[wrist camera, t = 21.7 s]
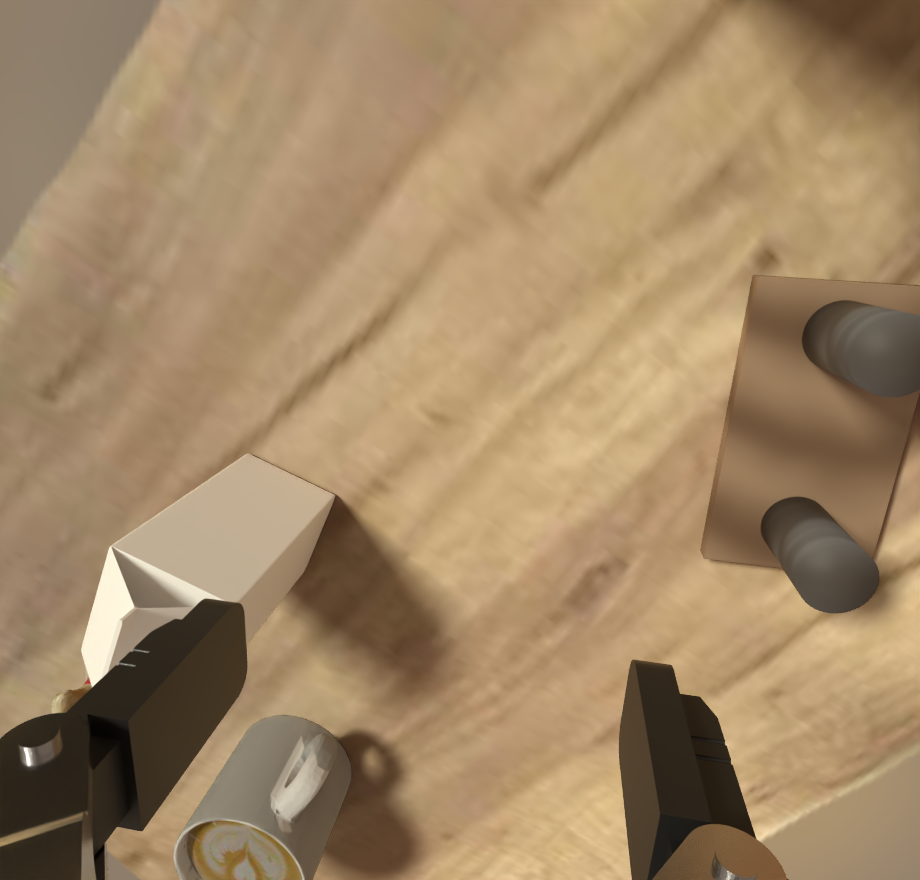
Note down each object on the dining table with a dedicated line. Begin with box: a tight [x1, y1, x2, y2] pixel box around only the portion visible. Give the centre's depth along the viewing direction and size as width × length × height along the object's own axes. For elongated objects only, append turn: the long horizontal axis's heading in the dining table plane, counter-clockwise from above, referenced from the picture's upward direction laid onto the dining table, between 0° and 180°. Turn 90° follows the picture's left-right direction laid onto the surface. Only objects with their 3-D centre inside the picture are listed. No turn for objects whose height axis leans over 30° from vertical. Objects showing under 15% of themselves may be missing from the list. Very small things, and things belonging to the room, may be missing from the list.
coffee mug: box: [174, 715, 351, 880], centre depth 49 cm, size 13×10×10 cm
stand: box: [700, 275, 920, 613], centre depth 36 cm, size 18×10×8 cm, turn 177°
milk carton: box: [81, 454, 335, 687], centre depth 38 cm, size 7×7×19 cm
